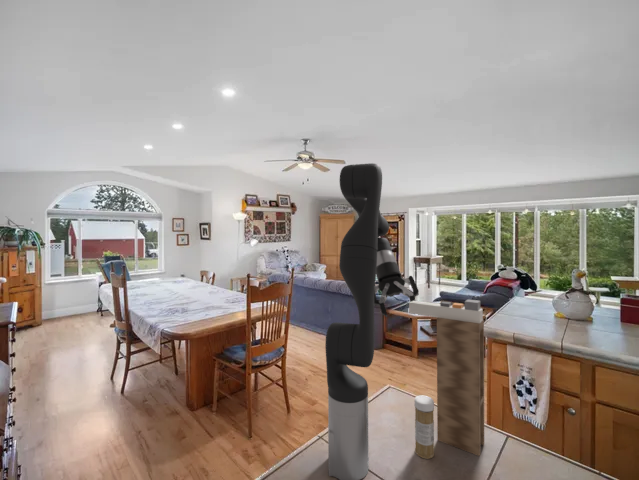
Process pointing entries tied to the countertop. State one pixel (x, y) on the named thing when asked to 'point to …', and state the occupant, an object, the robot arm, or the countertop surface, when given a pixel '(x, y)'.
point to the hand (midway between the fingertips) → (400, 312)
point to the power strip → (449, 310)
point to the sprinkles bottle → (424, 426)
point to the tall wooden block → (460, 384)
